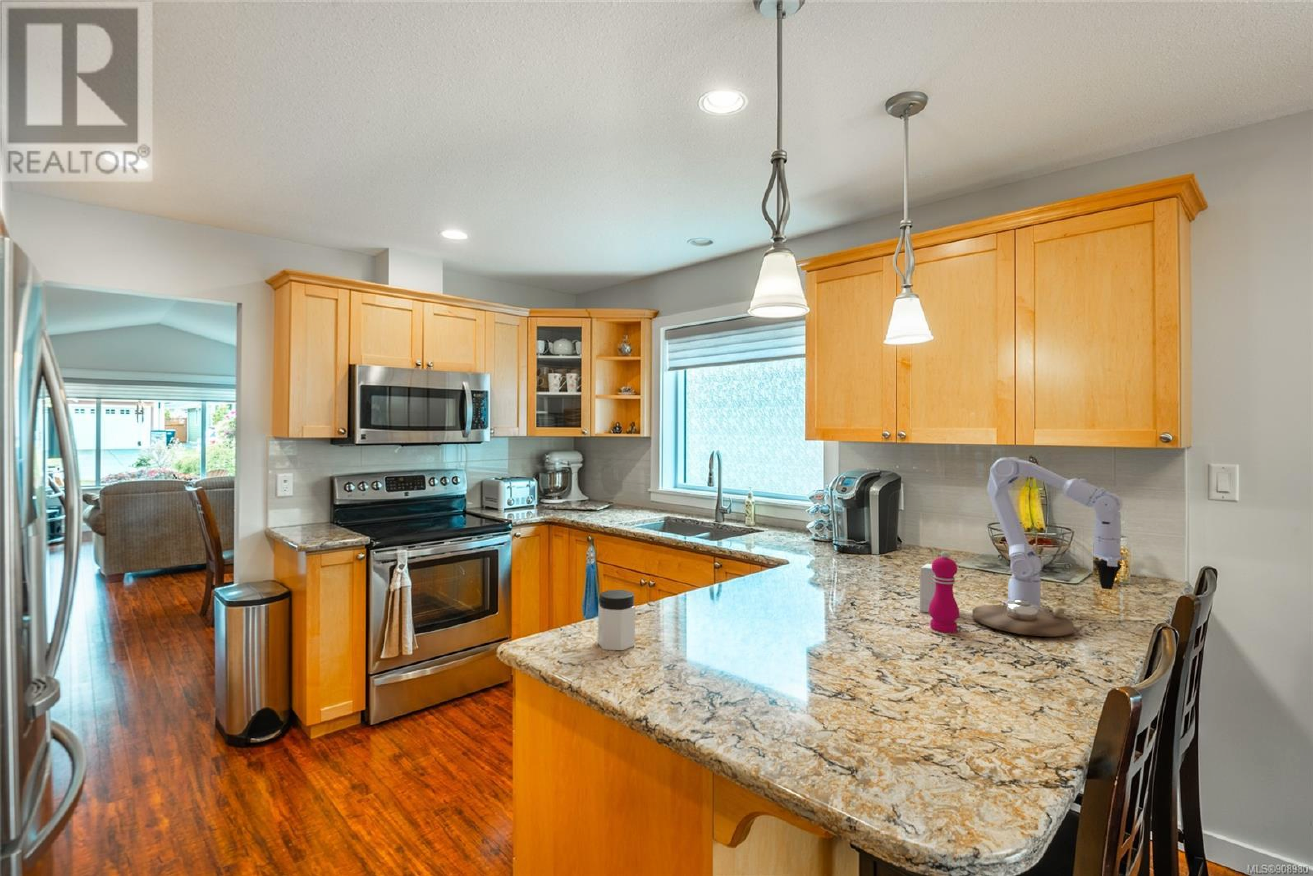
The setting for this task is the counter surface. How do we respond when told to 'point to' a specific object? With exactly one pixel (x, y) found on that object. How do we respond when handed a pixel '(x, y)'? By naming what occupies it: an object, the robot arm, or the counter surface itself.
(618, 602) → the jar
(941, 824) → the counter surface
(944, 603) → the pepper mill
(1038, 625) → the turntable top
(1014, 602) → the aluminium cover
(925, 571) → the supplement box
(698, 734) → the counter surface
